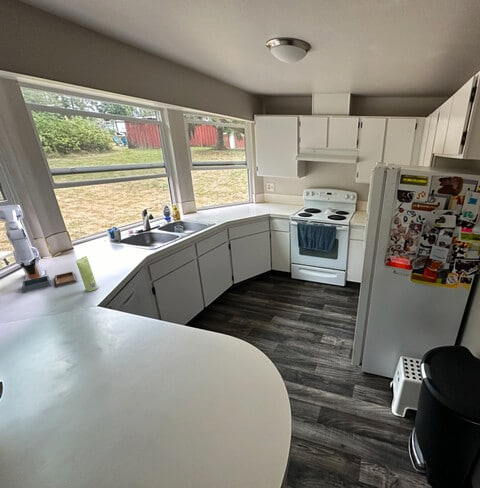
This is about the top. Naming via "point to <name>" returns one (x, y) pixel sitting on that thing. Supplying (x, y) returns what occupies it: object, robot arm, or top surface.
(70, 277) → the tray
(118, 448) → the top surface
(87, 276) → the tube
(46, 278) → the bin
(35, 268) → the bottle
